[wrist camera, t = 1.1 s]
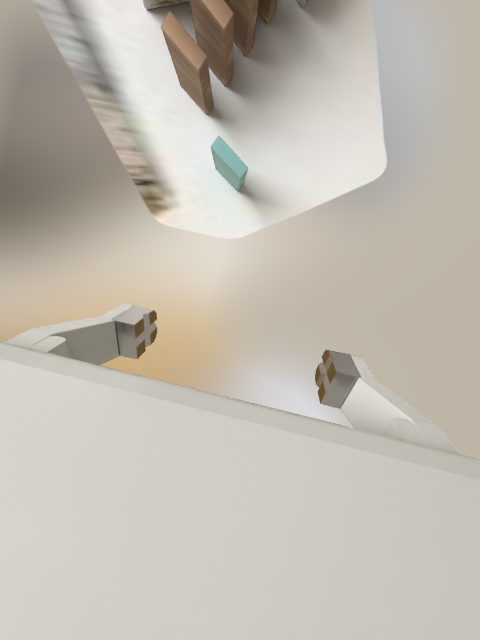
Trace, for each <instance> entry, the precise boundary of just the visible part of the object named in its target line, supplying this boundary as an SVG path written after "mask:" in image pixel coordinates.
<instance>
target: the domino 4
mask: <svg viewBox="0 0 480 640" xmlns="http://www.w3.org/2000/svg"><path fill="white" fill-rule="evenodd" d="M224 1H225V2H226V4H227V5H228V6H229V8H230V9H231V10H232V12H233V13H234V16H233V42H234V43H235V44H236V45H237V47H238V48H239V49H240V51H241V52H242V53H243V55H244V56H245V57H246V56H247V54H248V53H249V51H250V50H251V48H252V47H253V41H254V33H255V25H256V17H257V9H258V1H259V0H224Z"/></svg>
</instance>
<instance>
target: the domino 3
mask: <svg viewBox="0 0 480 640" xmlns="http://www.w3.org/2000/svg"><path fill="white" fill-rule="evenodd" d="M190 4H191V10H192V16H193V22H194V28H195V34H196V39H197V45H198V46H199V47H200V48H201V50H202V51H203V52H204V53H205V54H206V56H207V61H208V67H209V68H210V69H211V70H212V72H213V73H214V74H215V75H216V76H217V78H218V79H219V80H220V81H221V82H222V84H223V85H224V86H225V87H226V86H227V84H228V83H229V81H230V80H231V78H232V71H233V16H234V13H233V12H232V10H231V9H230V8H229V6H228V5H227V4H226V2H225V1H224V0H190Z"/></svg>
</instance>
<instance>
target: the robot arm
mask: <svg viewBox="0 0 480 640" xmlns="http://www.w3.org/2000/svg"><path fill="white" fill-rule="evenodd" d="M156 319H157V314H156V312H155V311H154V310H149V309H146V308H142V307H138V306H134V305H129V304H121V305H120V306H118V307H116V308H115V309H113V310H111V311H110V312H108V313H106V314H105V315H103V316H102V317H92V318H87V319H81V320H76V321H71V322H65V323H60V324H55V325H49V326H44V327H39V328H33V329H30V330H28V331H26V332H24V333H22V334H19V335H17V336H15V337H13V338H11V339H9V340H7V341H5V342H2V341H0V640H480V459H477V458H473V457H469V456H465V455H460V454H459V453H458V452H457V451H456V449H455V448H454V446H453V445H452V444H451V442H450V441H449V440H448V438H447V437H446V436H445V434H444V433H443V432H442V430H441V429H440V428H439V427H438V426H437V425H435V424H434V423H433V422H431V421H430V420H429V419H427V418H426V417H425V416H424V415H422V414H421V413H419V412H418V411H417V410H416V409H414V408H413V407H412V406H410V405H409V404H407V403H406V402H405V401H404V400H402V399H401V398H400V397H398V396H397V395H396V394H394V393H393V392H392V391H390V390H389V389H388V388H386V387H385V386H384V385H382V384H381V383H380V382H377V381H375V379H374V378H373V376H372V374H371V372H370V371H369V369H368V367H367V365H366V364H365V362H364V360H363V358H361V357H360V356H355V355H349V354H345V353H340V352H335V351H330V350H326V351H325V352H324V354H323V356H322V359H323V362H322V363H320V364H318V367H317V369H316V374H315V381H316V385H317V386H318V387H319V390H318V395H319V400H320V403H321V404H324V405H328V406H331V407H335V408H339V409H340V410H341V412H342V413H343V414H344V416H345V417H346V418H347V419H348V421H349V422H350V423H351V424H352V426H353V427H354V428H351V427H347V426H343V425H339V424H335V423H331V422H326V421H323V420H319V419H315V418H310V417H306V416H302V415H298V414H294V413H290V412H286V411H282V410H278V409H274V408H270V407H266V406H262V405H258V404H254V403H250V402H246V401H242V400H238V399H233V398H229V397H225V396H221V395H217V394H213V393H209V392H205V391H201V390H197V389H193V388H189V387H184V386H181V385H177V384H172V383H169V382H164V381H161V380H156V379H152V378H148V377H144V376H140V375H136V374H132V373H128V372H124V371H120V370H116V369H112V368H108V367H104V366H100V365H101V364H103V363H106V362H108V361H110V360H112V359H114V358H117V357H119V355H120V356H124V357H130V358H134V359H138V358H139V357H140V356H141V355H142V354H143V353H144V352H145V347H147V346H149V345H151V344H152V343H153V342H154V340H155V338H156V335H157V327H156V325H155V323H154V321H156Z"/></svg>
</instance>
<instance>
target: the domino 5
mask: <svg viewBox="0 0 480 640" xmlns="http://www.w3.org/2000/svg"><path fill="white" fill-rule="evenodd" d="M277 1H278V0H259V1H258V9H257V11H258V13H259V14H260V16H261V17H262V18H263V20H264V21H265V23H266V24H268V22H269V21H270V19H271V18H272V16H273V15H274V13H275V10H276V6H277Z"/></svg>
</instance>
